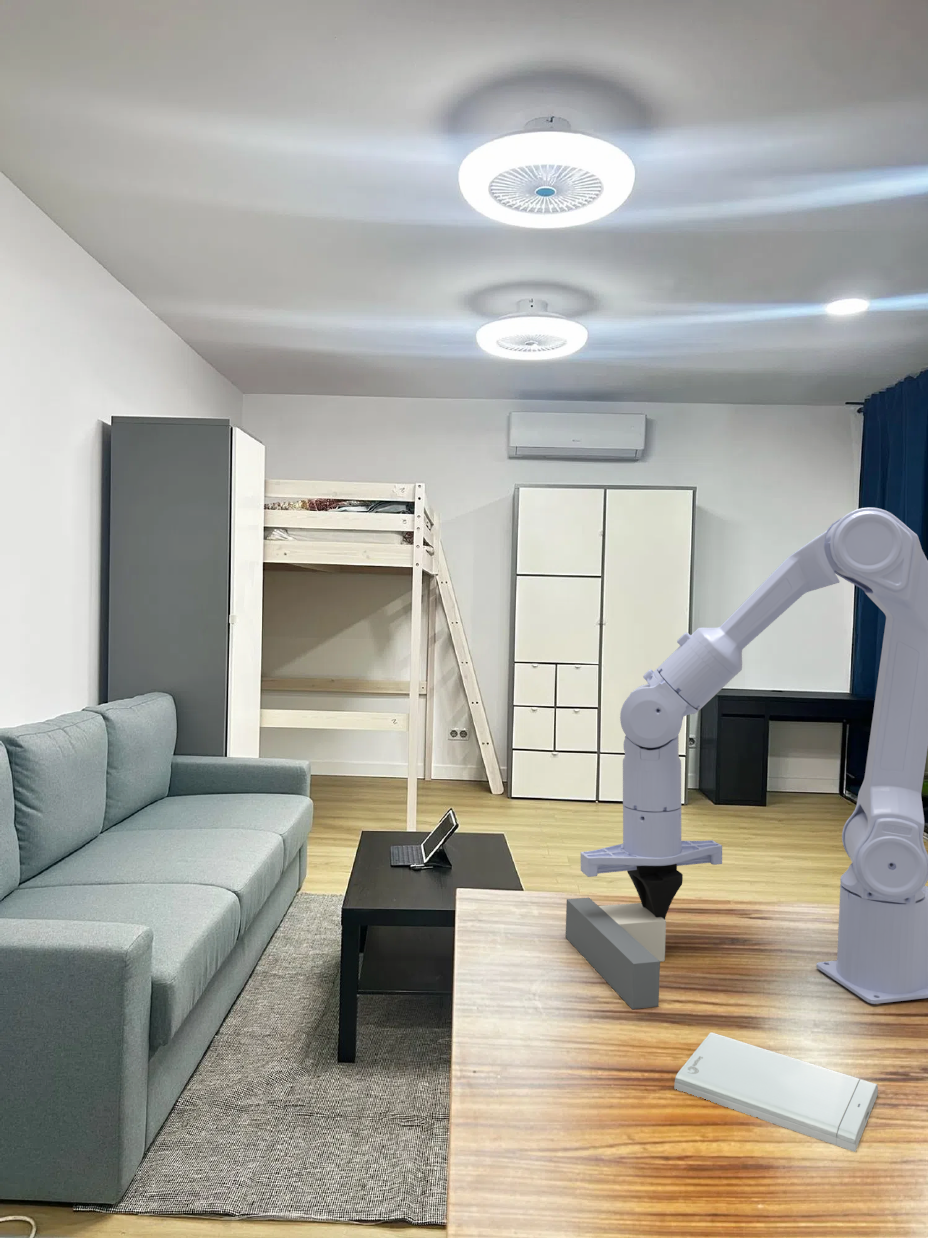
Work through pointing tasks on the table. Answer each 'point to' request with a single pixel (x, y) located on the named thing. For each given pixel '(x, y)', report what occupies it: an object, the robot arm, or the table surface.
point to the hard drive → (779, 1089)
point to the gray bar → (613, 953)
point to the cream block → (640, 926)
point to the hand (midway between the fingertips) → (652, 939)
